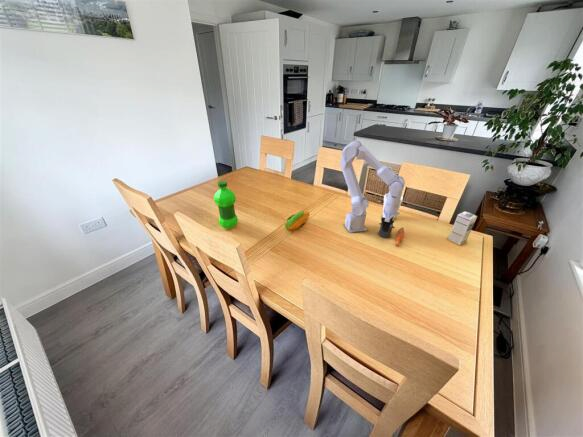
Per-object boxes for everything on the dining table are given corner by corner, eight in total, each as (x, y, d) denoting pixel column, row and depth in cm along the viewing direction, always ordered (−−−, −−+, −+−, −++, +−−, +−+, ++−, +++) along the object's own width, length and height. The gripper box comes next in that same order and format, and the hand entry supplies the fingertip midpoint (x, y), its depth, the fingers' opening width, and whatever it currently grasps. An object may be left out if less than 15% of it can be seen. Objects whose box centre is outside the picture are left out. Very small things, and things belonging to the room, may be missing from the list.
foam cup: (398, 222, 128) (404, 201, 121) (380, 220, 129) (385, 199, 122) (395, 214, 135) (401, 193, 129) (378, 212, 137) (383, 192, 130)
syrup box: (459, 245, 111) (472, 219, 103) (447, 239, 115) (458, 213, 107) (465, 241, 113) (478, 216, 106) (453, 235, 117) (464, 210, 110)
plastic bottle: (229, 219, 131) (223, 176, 118) (243, 225, 126) (237, 181, 112) (215, 227, 124) (206, 183, 111) (229, 233, 119) (221, 188, 106)
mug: (390, 239, 114) (394, 228, 111) (375, 235, 117) (378, 224, 114) (392, 234, 119) (395, 223, 115) (378, 230, 122) (380, 219, 118)
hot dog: (281, 218, 116) (303, 203, 130) (280, 231, 121) (302, 215, 134) (293, 224, 113) (314, 208, 127) (292, 236, 117) (313, 219, 131)
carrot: (399, 229, 122) (400, 225, 121) (404, 230, 121) (405, 226, 120) (393, 246, 110) (395, 241, 109) (399, 247, 109) (401, 243, 108)
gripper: (399, 211, 101) (392, 237, 108) (404, 198, 112) (397, 222, 119) (382, 208, 104) (376, 233, 111) (388, 195, 115) (383, 219, 122)
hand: (386, 227), depth 116 cm, fingers open, 7 cm apart
